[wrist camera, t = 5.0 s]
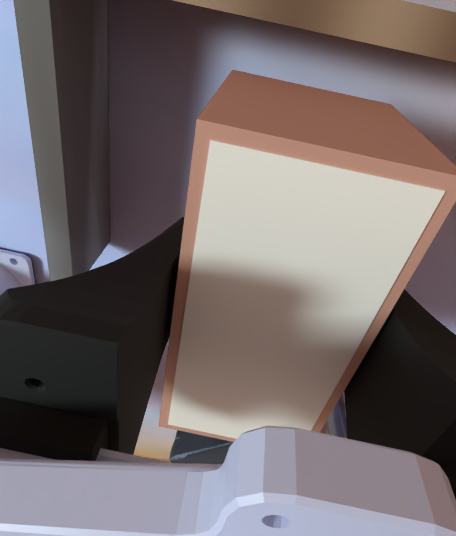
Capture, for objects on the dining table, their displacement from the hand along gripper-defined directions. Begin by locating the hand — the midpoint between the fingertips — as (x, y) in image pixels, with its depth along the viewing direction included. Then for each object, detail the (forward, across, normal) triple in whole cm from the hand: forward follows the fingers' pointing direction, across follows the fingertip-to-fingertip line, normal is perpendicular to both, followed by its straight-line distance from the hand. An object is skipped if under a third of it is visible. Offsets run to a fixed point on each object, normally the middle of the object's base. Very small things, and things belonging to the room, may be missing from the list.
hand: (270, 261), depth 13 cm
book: (+2, 0, 0) cm, 2 cm away
